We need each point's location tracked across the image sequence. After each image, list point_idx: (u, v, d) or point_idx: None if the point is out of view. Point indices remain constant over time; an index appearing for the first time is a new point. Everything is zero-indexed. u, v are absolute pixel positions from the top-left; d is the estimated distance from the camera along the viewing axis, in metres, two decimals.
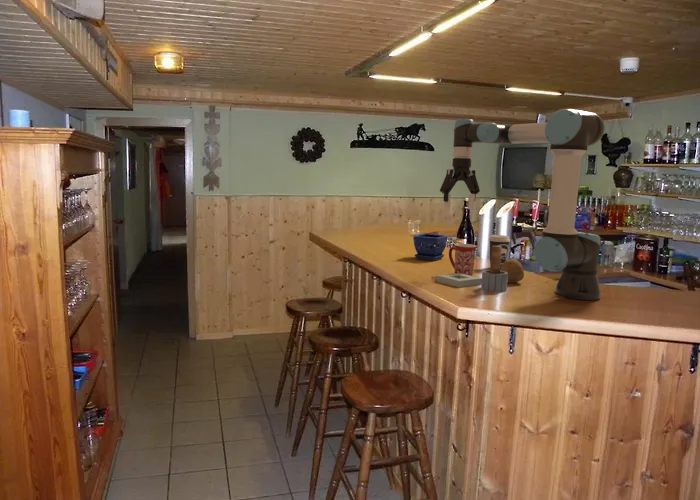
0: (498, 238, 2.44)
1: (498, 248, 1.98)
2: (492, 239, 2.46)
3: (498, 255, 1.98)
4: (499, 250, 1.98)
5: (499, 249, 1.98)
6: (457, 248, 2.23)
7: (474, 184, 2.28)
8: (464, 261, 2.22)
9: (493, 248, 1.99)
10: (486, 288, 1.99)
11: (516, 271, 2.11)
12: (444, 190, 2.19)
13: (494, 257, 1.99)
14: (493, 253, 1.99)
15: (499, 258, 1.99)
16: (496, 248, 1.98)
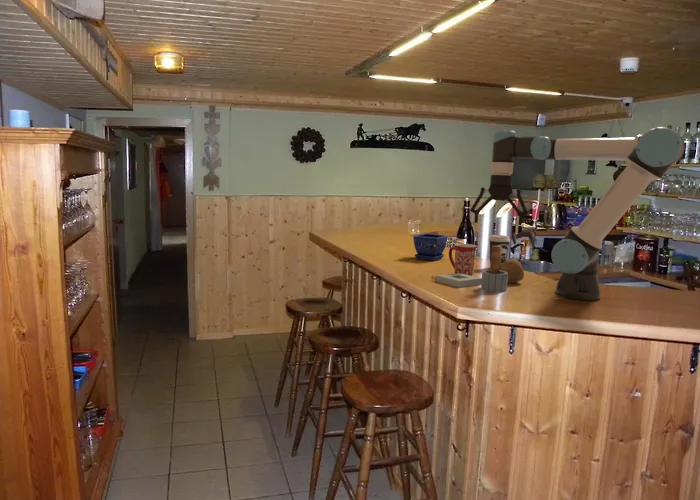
0: (498, 238, 2.44)
1: (498, 248, 1.98)
2: (492, 239, 2.46)
3: (498, 255, 1.98)
4: (499, 250, 1.98)
5: (499, 249, 1.98)
6: (457, 248, 2.23)
7: (521, 205, 1.95)
8: (464, 261, 2.22)
9: (493, 248, 1.99)
10: (486, 288, 1.99)
11: (516, 271, 2.11)
12: (471, 210, 1.99)
13: (494, 257, 1.99)
14: (493, 253, 1.99)
15: (499, 258, 1.99)
16: (496, 248, 1.98)
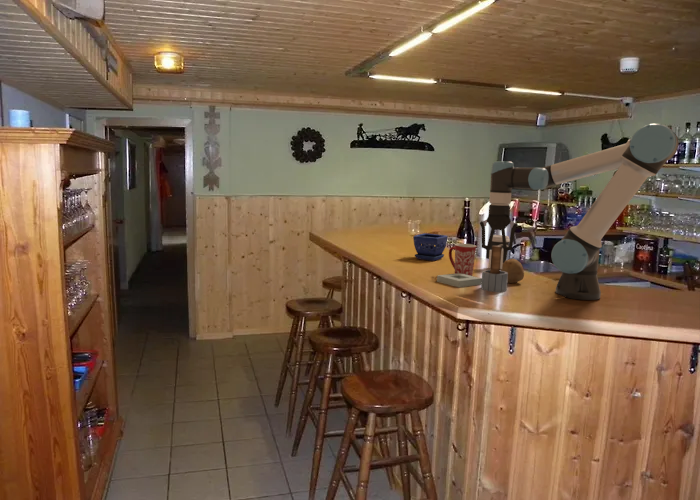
0: (498, 238, 2.44)
1: (498, 248, 1.98)
2: (492, 239, 2.46)
3: (498, 255, 1.98)
4: (499, 250, 1.98)
5: (499, 249, 1.98)
6: (457, 248, 2.23)
7: None
8: (464, 261, 2.22)
9: (493, 248, 1.99)
10: (486, 288, 1.99)
11: (516, 271, 2.11)
12: (482, 246, 2.00)
13: (494, 257, 1.99)
14: (493, 253, 1.99)
15: (499, 258, 1.99)
16: (496, 248, 1.98)
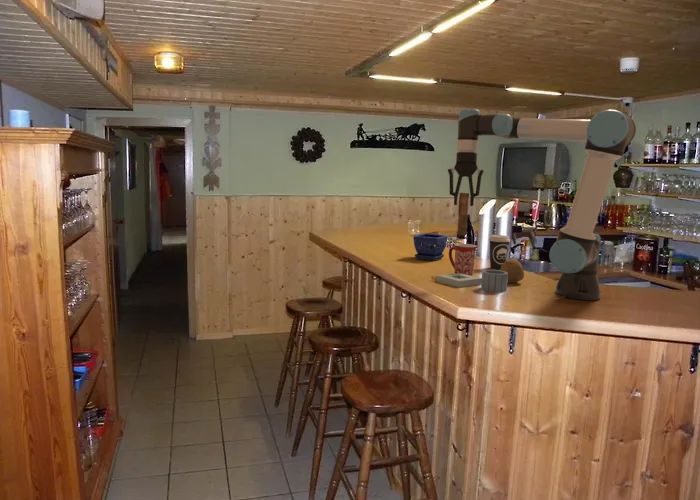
0: (498, 238, 2.44)
1: (465, 194, 2.05)
2: (492, 239, 2.46)
3: (466, 201, 2.05)
4: (467, 197, 2.05)
5: (466, 195, 2.05)
6: (457, 248, 2.23)
7: None
8: (464, 261, 2.22)
9: (460, 194, 2.05)
10: (486, 288, 1.99)
11: (516, 271, 2.11)
12: (450, 193, 2.06)
13: (461, 203, 2.05)
14: (461, 199, 2.05)
15: (466, 204, 2.05)
16: (463, 194, 2.05)
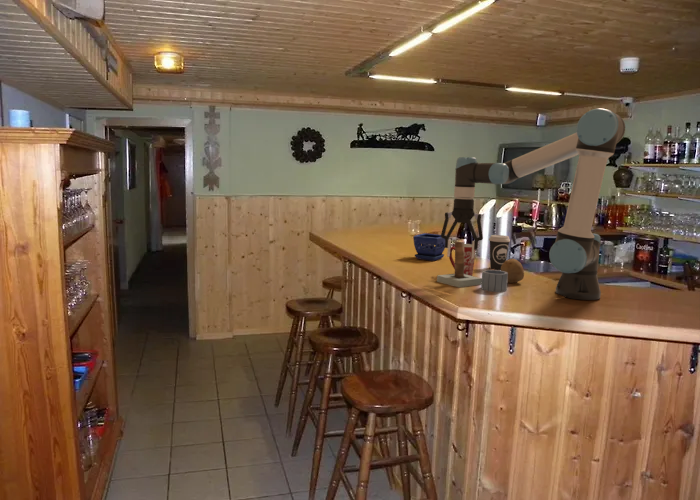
0: (498, 238, 2.44)
1: (461, 243, 2.08)
2: (492, 239, 2.46)
3: (461, 250, 2.08)
4: (462, 246, 2.08)
5: (462, 244, 2.08)
6: None
7: (478, 230, 2.06)
8: (464, 261, 2.22)
9: (456, 244, 2.08)
10: (486, 288, 1.99)
11: (516, 271, 2.11)
12: (441, 236, 2.09)
13: (457, 252, 2.08)
14: (456, 248, 2.08)
15: (462, 253, 2.08)
16: (459, 244, 2.08)
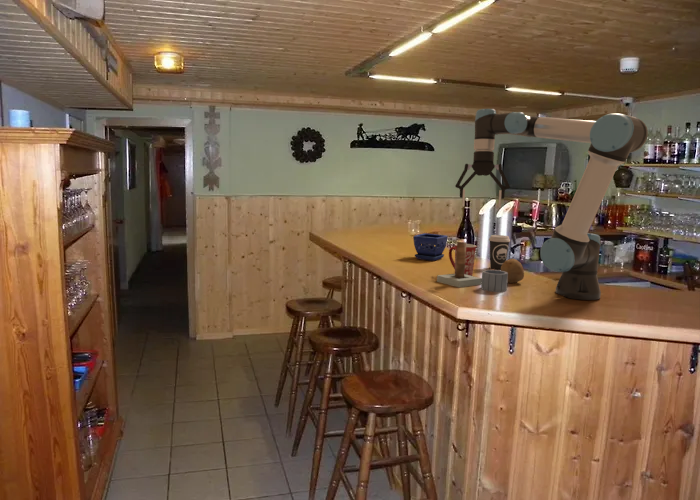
0: (498, 238, 2.44)
1: (463, 244, 2.07)
2: (492, 239, 2.46)
3: (463, 250, 2.08)
4: (464, 246, 2.08)
5: (464, 245, 2.08)
6: None
7: (503, 179, 2.06)
8: None
9: (458, 244, 2.08)
10: (486, 288, 1.99)
11: (516, 271, 2.11)
12: (456, 185, 2.10)
13: (459, 252, 2.08)
14: (458, 249, 2.08)
15: (464, 253, 2.08)
16: (461, 244, 2.07)
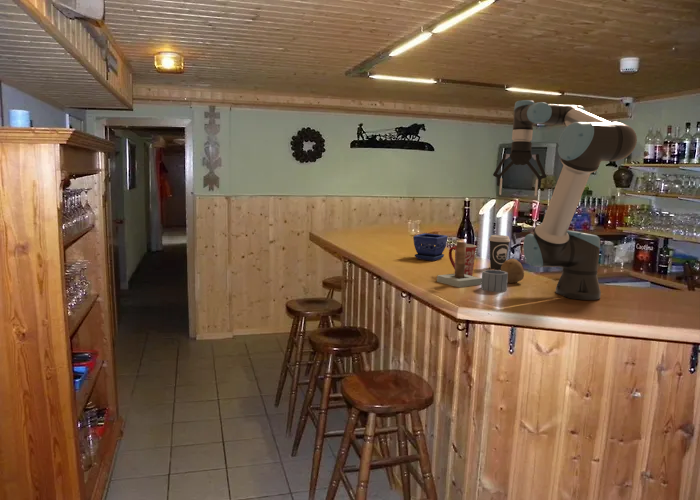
0: (498, 238, 2.44)
1: (462, 244, 2.07)
2: (492, 239, 2.46)
3: (463, 250, 2.08)
4: (464, 246, 2.08)
5: (463, 245, 2.07)
6: None
7: None
8: None
9: (458, 244, 2.08)
10: (486, 288, 1.99)
11: (516, 271, 2.11)
12: (493, 174, 2.18)
13: (459, 253, 2.08)
14: (458, 249, 2.08)
15: (463, 253, 2.08)
16: (460, 244, 2.07)
